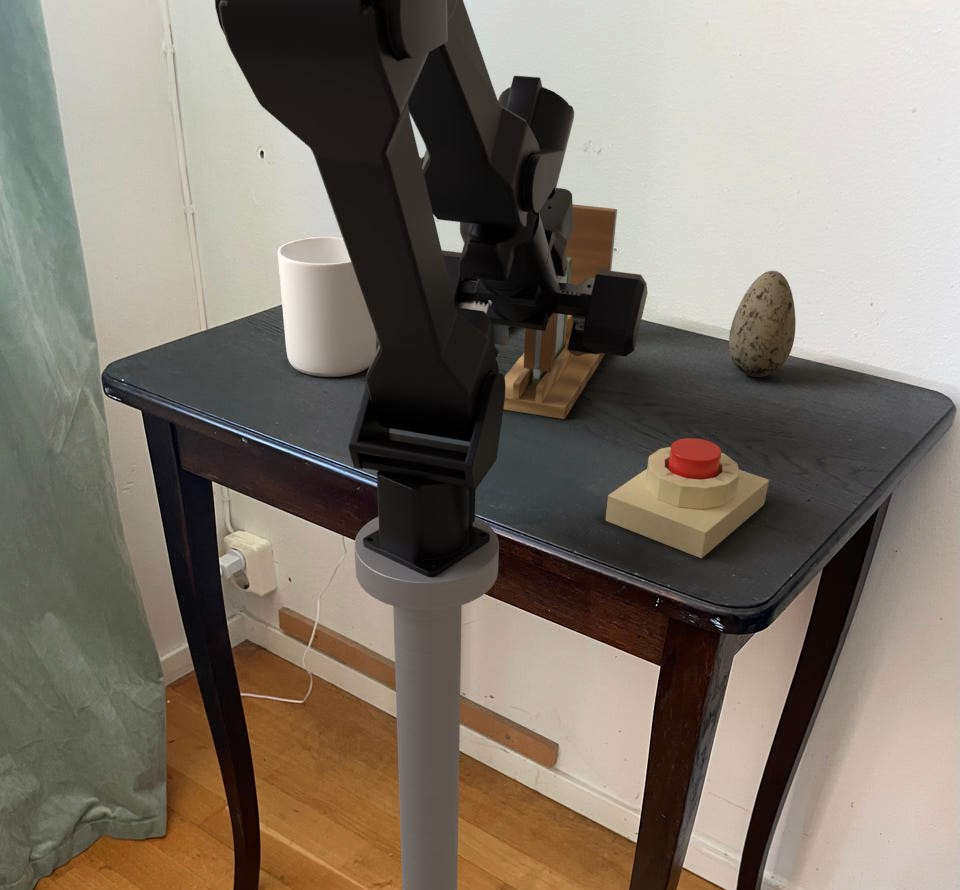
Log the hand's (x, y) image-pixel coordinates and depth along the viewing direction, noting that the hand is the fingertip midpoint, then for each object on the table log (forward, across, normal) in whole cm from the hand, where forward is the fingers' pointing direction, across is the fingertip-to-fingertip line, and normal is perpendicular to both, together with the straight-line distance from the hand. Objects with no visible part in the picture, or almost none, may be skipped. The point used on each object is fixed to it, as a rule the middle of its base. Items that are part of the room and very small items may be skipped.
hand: (542, 345), depth 91 cm
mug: (+5, +21, +2) cm, 21 cm away
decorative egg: (+12, -18, -5) cm, 23 cm away
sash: (+5, 0, 0) cm, 5 cm away
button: (-11, -16, +13) cm, 23 cm away
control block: (-8, -16, +15) cm, 24 cm away
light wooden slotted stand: (+8, 0, -1) cm, 8 cm away
